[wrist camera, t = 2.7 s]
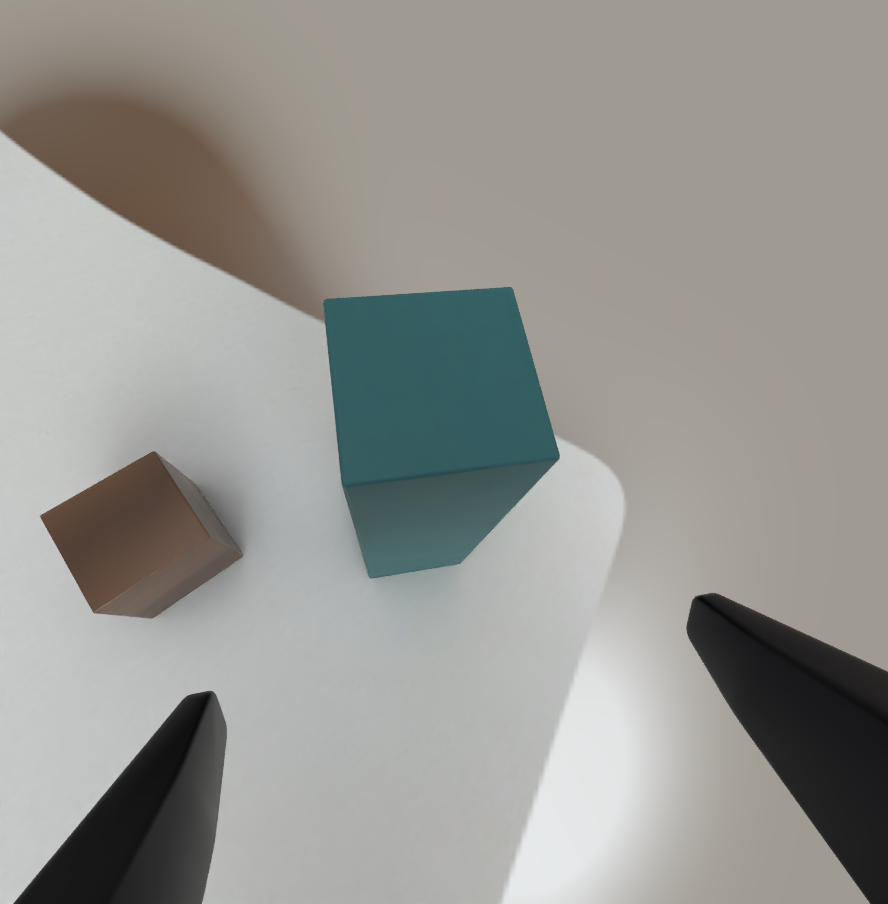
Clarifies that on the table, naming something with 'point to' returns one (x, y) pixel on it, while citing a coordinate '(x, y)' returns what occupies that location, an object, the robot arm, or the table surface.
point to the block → (140, 539)
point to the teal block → (433, 421)
